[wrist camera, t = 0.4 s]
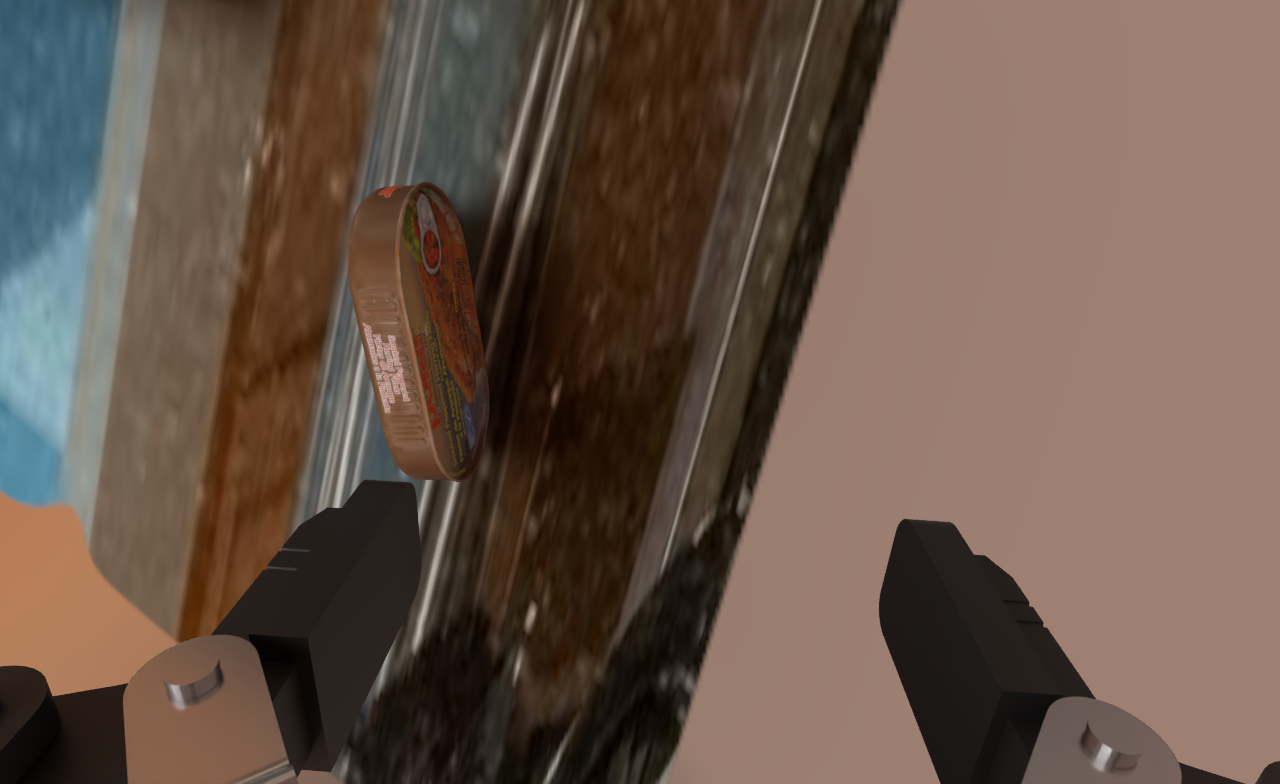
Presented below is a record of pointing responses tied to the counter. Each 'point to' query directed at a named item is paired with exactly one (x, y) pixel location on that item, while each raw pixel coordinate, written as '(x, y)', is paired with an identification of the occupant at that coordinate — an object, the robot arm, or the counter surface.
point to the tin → (420, 330)
